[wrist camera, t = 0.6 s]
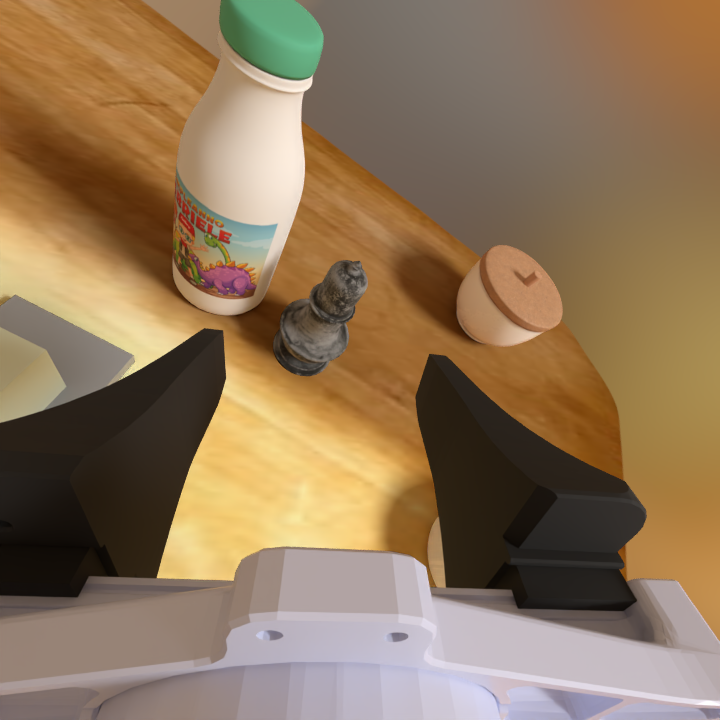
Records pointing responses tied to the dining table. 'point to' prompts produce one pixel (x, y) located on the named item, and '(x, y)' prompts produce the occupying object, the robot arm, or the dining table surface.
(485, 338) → the lidded jar
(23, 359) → the sage block
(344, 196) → the dining table surface
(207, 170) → the milk bottle
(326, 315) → the grey chess piece
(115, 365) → the plate
